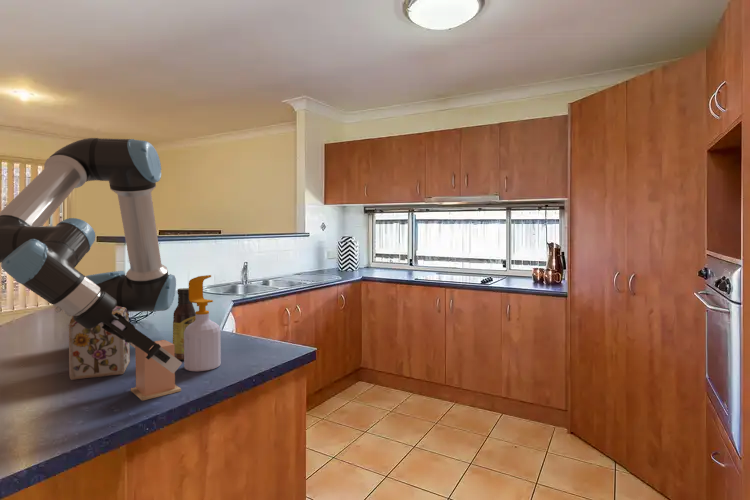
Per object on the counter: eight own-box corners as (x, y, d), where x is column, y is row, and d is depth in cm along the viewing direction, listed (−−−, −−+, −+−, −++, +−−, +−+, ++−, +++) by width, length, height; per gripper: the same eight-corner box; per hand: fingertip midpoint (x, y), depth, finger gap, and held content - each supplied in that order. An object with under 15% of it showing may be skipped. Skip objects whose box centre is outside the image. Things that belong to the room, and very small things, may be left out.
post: (130, 390, 95) (130, 358, 95) (167, 382, 101) (167, 352, 101) (142, 400, 90) (141, 366, 89) (181, 391, 95) (180, 359, 95)
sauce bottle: (187, 361, 118) (186, 290, 117) (167, 359, 119) (166, 289, 118) (201, 354, 124) (201, 287, 123) (182, 353, 125) (182, 286, 125)
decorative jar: (80, 366, 113) (79, 299, 112) (130, 361, 117) (129, 297, 117) (68, 381, 102) (66, 306, 101) (124, 375, 106) (122, 303, 106)
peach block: (136, 388, 95) (135, 344, 95) (164, 381, 100) (164, 339, 99) (145, 395, 91) (144, 349, 91) (175, 388, 95) (174, 344, 95)
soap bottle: (198, 374, 107) (197, 277, 106) (177, 368, 112) (176, 275, 111) (228, 365, 114) (227, 274, 114) (206, 359, 119) (205, 273, 118)
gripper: (59, 310, 92) (136, 363, 104) (86, 328, 75) (174, 389, 86) (87, 284, 96) (158, 338, 107) (119, 295, 79) (200, 358, 90)
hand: (166, 361), depth 97 cm, fingers open, 13 cm apart
